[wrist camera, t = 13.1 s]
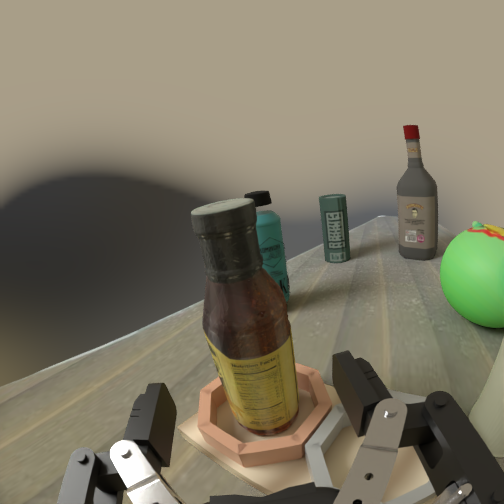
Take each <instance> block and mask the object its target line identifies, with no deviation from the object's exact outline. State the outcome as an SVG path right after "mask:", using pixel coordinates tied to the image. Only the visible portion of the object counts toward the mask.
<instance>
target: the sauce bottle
mask: <svg viewBox="0 0 504 504" xmlns="http://www.w3.org/2000/svg"><path fill="white" fill-rule="evenodd" d="M191 219H192V226H193V230H194V232H195V234H196V236H198V239H199V242H200V246H201V251H202V254H203V259H204V263H205V273H206V275H207V277H206V288H205V298H204V309H203V321H202V325H203V329H204V333H205V336H206V339H207V342H208V345H209V348H210V351H211V354H212V357H213V360H214V363H215V366H216V369H217V371H218V374H219V378H220V380H221V383H222V385H223V388H224V391H225V394H226V396H227V399H228V402H229V405H230V407H231V410H232V412H233V415H234V417H235V418H236V420H237V421H238V423H239V425H241V426H242V427H243V428H244V429H245V430H247V431H249V432H251V433H253V434H256V435H273V434H278V433H280V432H283V431H285V430H287V429H288V428H289V427H290V426H291V425H292V423H293V422H294V421H295V419H296V417H297V415H298V413H299V406H298V403H299V392H298V382H297V373H296V365H295V357H294V349H293V340H292V333H291V325H290V322H289V320H288V315H287V304H286V299H285V297H284V294H283V292H282V289H281V288H280V286H279V285H278V283H276V282H275V280H274V279H273V278H272V277H271V276H270V275H269V274H268V272H267V271H266V270H265V269H264V268H263V267H262V265H263V257H262V255H261V253H260V248H259V242H258V235H257V230H256V223H257V214H256V208H255V202H254V200H253V199H250V198H238V199H232V200H226V201H220V202H216V203H212V204H209V205H205V206H202V207H199V208H196V209H194V210H193V211H192V212H191Z"/></svg>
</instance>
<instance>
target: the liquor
mask: <svg viewBox="0 0 504 504" xmlns="http://www.w3.org/2000/svg"><path fill="white" fill-rule="evenodd" d="M403 128H404V134H405V139H406V144H407V152H408V169H407V170H406V172H405V173H404V175H403V176H402V178H401V179H400V181H399V182H398V185H397V200H398V221H399V253H400V254H401V255H402V256H403V257H405V258H408V259H416V260H429V259H432V258H433V256H434V254H435V252H436V250H437V242H438V199H437V185H436V182H435V181H434V180H433V178H432V177H431V176H430V174H429V173H428V172H427V171H426V170H425V169H424V167H423V163H422V158H421V150H420V142H419V139H420V136H419V130H418V126H417V125H406V126H403Z"/></svg>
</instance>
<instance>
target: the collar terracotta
mask: <svg viewBox="0 0 504 504" xmlns="http://www.w3.org/2000/svg"><path fill="white" fill-rule="evenodd" d="M295 365H296V373H297V382H298V388H299V389H302V390H304V391H307V392H309V393H310V396H311V399H312V401H313V404H314V407H315V409H314V410H313V411H312V413H311V414H310V415H309V416H308V418H307V419H306V420H305V421H304V422H303V424H302V425H301V426H300V427H299V428H298V430H297V431H296V432H295V433H294V434H293V435H290V436H285V437H280V438H274V439H269V440H262V441H256V442H249V443H242V442H241V441H239V440H237V439H236V438H234V437H232V436H231V435H229V434H227V433H226V432H224V431H223V430H221V429H220V428H218V427H217V408H218V407H219V406H220V405H222V404H223V403H224V402H225V401H226V400H228V399H227V396H226V394H225V391H224V388H223V385H222V383H221V380H220V378H219V377H217V378H216V379H215V380H213V381H212V382H211V383H210V384H208V385H207V386H206V387H204V388H203V389H202V390H200V401H199V413H198V425H197V427H198V429H199V431H200V433H201V434H202V436H203V438H204V440H205V442H207V443H208V444H209V445H211V446H212V447H214V448H215V449H216V450H218V451H219V452H221V453H222V454H224V455H225V456H227V457H228V458H230V459H231V460H233V461H235V462H236V463H238V464H239V465H241V466H242V467H244V468H245V467H253V466H261V465H268V464H274V463H280V462H285V461H290V460H295V459H300V458H303V457H304V455H305V444H306V443H307V442H308V441H309V439H310V438H311V437H312V436H313V434H314V433H315V432H316V430H317V429H318V428H319V427H320V425H321V424H322V423H323V421H324V420H325V419H326V417H327V416H328V414H329V413H330V412H331V410H332V402H331V399H330V397H329V395H328V392H327V390H326V388H325V385H324V383H323V381H322V378H321V376H320V374H319V371H318V370H316V369H313V368H310V367H307V366H304V365H301V364H298V363H295Z"/></svg>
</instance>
